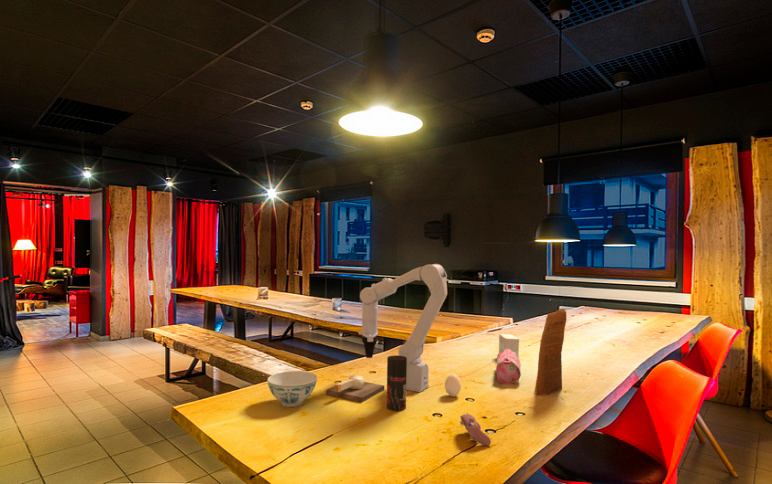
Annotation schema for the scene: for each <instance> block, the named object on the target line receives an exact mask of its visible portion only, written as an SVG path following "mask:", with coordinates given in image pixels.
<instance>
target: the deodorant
mask: <svg viewBox="0 0 772 484" xmlns="http://www.w3.org/2000/svg"><path fill="white" fill-rule="evenodd" d="M386 362H387V363H386V365H387V366H386V368H387V369H386V409H388V411H393V412H399V411H404V410H406V409H407V390H406V377H407V358H406V357H404V356H399V354H398V355H389V356H387V361H386Z"/></svg>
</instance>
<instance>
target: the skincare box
mask: <svg viewBox="0 0 772 484" xmlns="http://www.w3.org/2000/svg"><path fill="white" fill-rule="evenodd" d="M498 341H499V342H498V353H499V352H500V351H502V350H505V349H511V350H513V351H515V352H516V353H517V354H518V355H520V353H519V350H520V349H519V347H520V339H519V338H518V337H516V336H515V335H514V334H510V333H509V334H508V333H507V334H506V333H504V334H503V333H499V335H498Z"/></svg>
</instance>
